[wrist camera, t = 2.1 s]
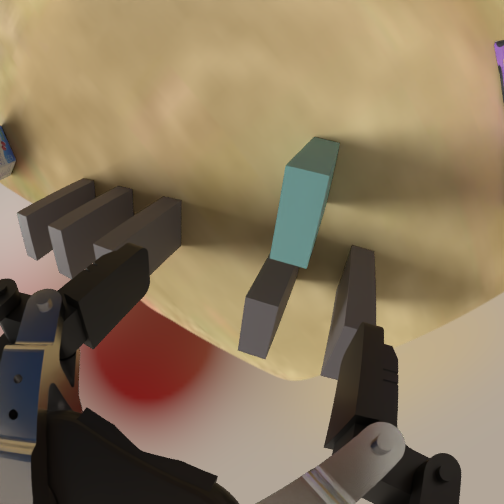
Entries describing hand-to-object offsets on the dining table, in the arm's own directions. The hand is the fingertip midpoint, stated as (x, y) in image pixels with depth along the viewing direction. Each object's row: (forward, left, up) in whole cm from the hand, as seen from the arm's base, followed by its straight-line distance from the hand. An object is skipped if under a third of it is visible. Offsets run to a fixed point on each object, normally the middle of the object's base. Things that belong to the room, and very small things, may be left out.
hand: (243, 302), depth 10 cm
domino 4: (+7, +2, -16) cm, 17 cm away
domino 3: (+11, -9, -16) cm, 21 cm away
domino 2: (+14, -14, -16) cm, 25 cm away
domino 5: (-1, 0, -16) cm, 16 cm away
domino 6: (+4, +8, -16) cm, 18 cm away
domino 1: (+16, -20, -16) cm, 30 cm away
